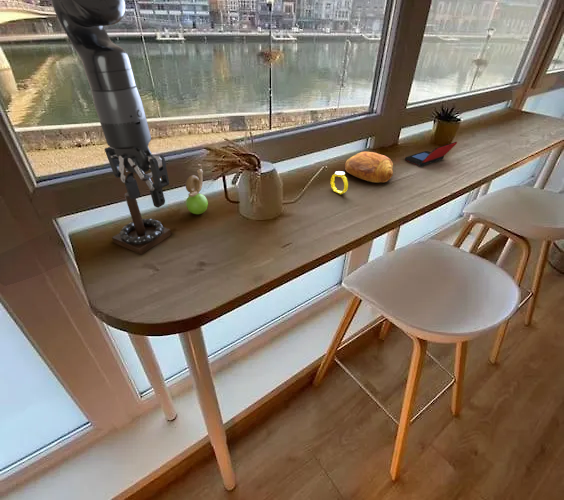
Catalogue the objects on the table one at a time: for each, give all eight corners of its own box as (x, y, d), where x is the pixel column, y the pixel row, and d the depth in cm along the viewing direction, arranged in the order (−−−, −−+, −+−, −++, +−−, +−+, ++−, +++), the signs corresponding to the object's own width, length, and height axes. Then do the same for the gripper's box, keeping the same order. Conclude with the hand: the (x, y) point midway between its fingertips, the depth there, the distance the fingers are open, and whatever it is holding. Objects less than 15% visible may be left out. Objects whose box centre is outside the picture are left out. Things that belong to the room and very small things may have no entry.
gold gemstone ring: (348, 194, 93) (351, 175, 89) (341, 197, 92) (344, 177, 88) (334, 187, 97) (336, 168, 93) (327, 189, 96) (329, 170, 92)
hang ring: (140, 250, 69) (138, 244, 68) (112, 238, 73) (110, 232, 72) (172, 230, 75) (171, 224, 74) (145, 219, 79) (143, 214, 78)
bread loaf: (372, 194, 98) (379, 171, 92) (335, 171, 106) (340, 149, 100) (401, 180, 105) (409, 158, 99) (364, 160, 113) (370, 138, 107)
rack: (141, 254, 70) (125, 208, 63) (113, 242, 74) (96, 197, 67) (171, 234, 76) (160, 190, 70) (145, 224, 80) (132, 181, 73)
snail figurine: (215, 208, 86) (209, 165, 79) (201, 220, 82) (193, 175, 75) (198, 204, 88) (191, 162, 81) (183, 215, 84) (174, 171, 76)
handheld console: (425, 153, 120) (431, 133, 115) (451, 162, 113) (458, 141, 108) (402, 160, 114) (407, 139, 110) (429, 170, 107) (435, 148, 103)
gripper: (77, 116, 57) (109, 201, 67) (132, 126, 51) (158, 218, 61) (114, 107, 62) (138, 187, 72) (168, 115, 56) (186, 201, 66)
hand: (147, 201), depth 66 cm, fingers open, 6 cm apart
